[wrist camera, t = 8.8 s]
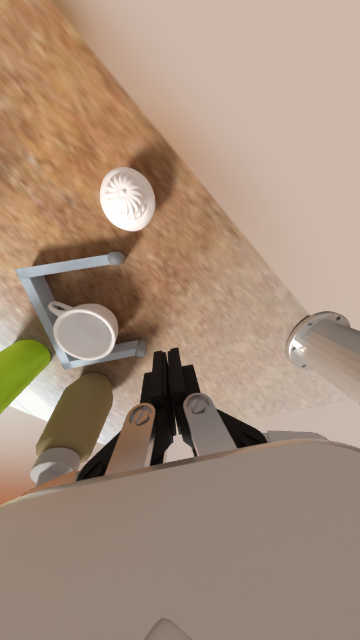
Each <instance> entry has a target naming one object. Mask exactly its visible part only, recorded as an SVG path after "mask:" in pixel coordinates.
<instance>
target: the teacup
mask: <svg viewBox="0 0 360 640" xmlns="http://www.w3.org/2000/svg"><path fill="white" fill-rule="evenodd" d="M53 305H57V306H60V307H62V308H63V309H65V310H58V309H55V308H54V307H53ZM48 308H49V310H50V311H51V312H52V313H54V314H55V315H57V316H58V318H57V320H56V321H55V324H54V328H53V333H54V337H55V340H56V342H57V344H58V345H59V346H60V348H61V349H62V350H64V351H65V352H66V353H67V354H69V355H71V356H73V357H75V358H78V359H82V360H97V359H100V358H103V357H105V356H106V355H108V354H109V353H110V352H111V351H112V349H113V347H114V345H115V342H116V339H117V335H118V322H117V319H116V317H115V315H114V314H113V313H112V312H111V311H110V310H109V309H108V308H106V307H104V306H102V305H99V304H82V305H78V306H76V307H71V306H68V305H66V304H63V303H60V302H57V301H52V302H51V303H50V304H49V305H48Z"/></svg>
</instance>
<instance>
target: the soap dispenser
mask: <svg viewBox="0 0 360 640" xmlns="http://www.w3.org/2000/svg"><path fill="white" fill-rule="evenodd" d="M50 358H51V357H50V353H49V351H48V349H47V348H46V347H45V346H44V345H43V344H41V343H39V342H37V341H34V340H30V339H24V340H19V341H17V342H15V343H14V344H12V345H11V346H9V347H8V348H6V349H4V350H3V351H1V352H0V414H1V413H2V412H3V411H4V409H5V408H6V407H7V406H8V405H9V404H10V403H11V402H12V401H13V400H14V399H15V398H16V397H17V396H18V395H19V394H20V393H21V392H22V391H23V390H24V389H25V388H26V387H27V386H28V385H29V384H30V383H31V382H32V381H33V379H34V378H35V377H36V376H37V375H38V374H39V373H40V372H41V371H42V370H43V369H44V368H45V367H46V366H47V365H48V364H49V362H50Z"/></svg>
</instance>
